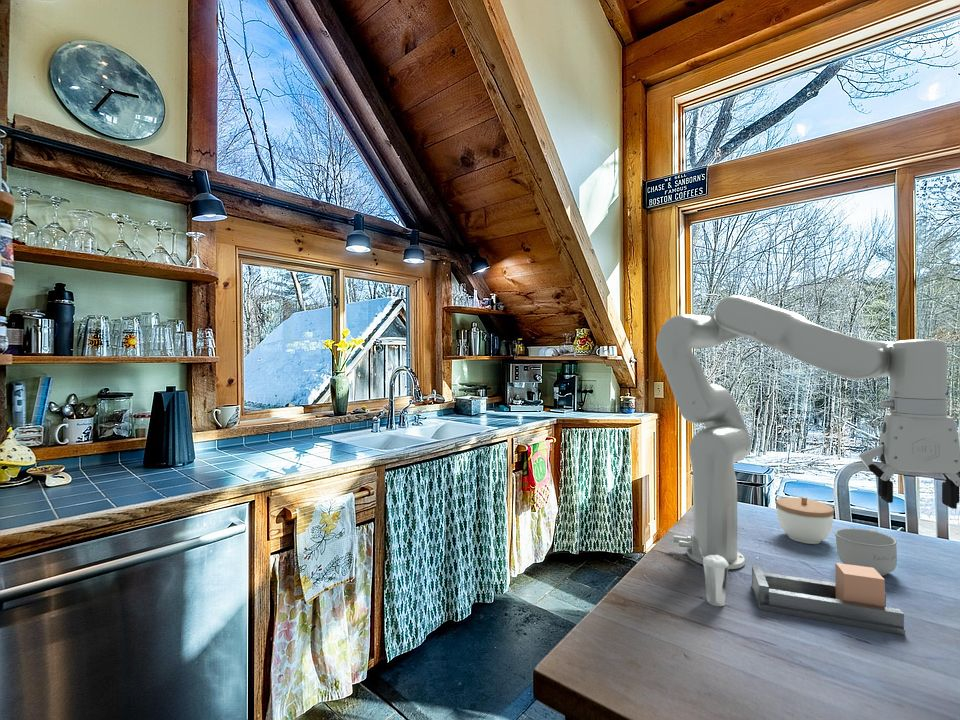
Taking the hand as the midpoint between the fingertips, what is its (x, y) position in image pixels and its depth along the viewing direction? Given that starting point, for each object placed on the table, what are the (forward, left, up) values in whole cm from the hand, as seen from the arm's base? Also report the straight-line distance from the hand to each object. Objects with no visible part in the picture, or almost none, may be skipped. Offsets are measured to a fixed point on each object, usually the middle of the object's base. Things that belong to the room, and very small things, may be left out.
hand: (917, 503), depth 84 cm
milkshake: (-34, -5, -22) cm, 41 cm away
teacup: (0, +24, -22) cm, 33 cm away
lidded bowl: (-9, +39, -22) cm, 46 cm away
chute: (-15, 0, -22) cm, 26 cm away
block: (-9, 0, -21) cm, 22 cm away
